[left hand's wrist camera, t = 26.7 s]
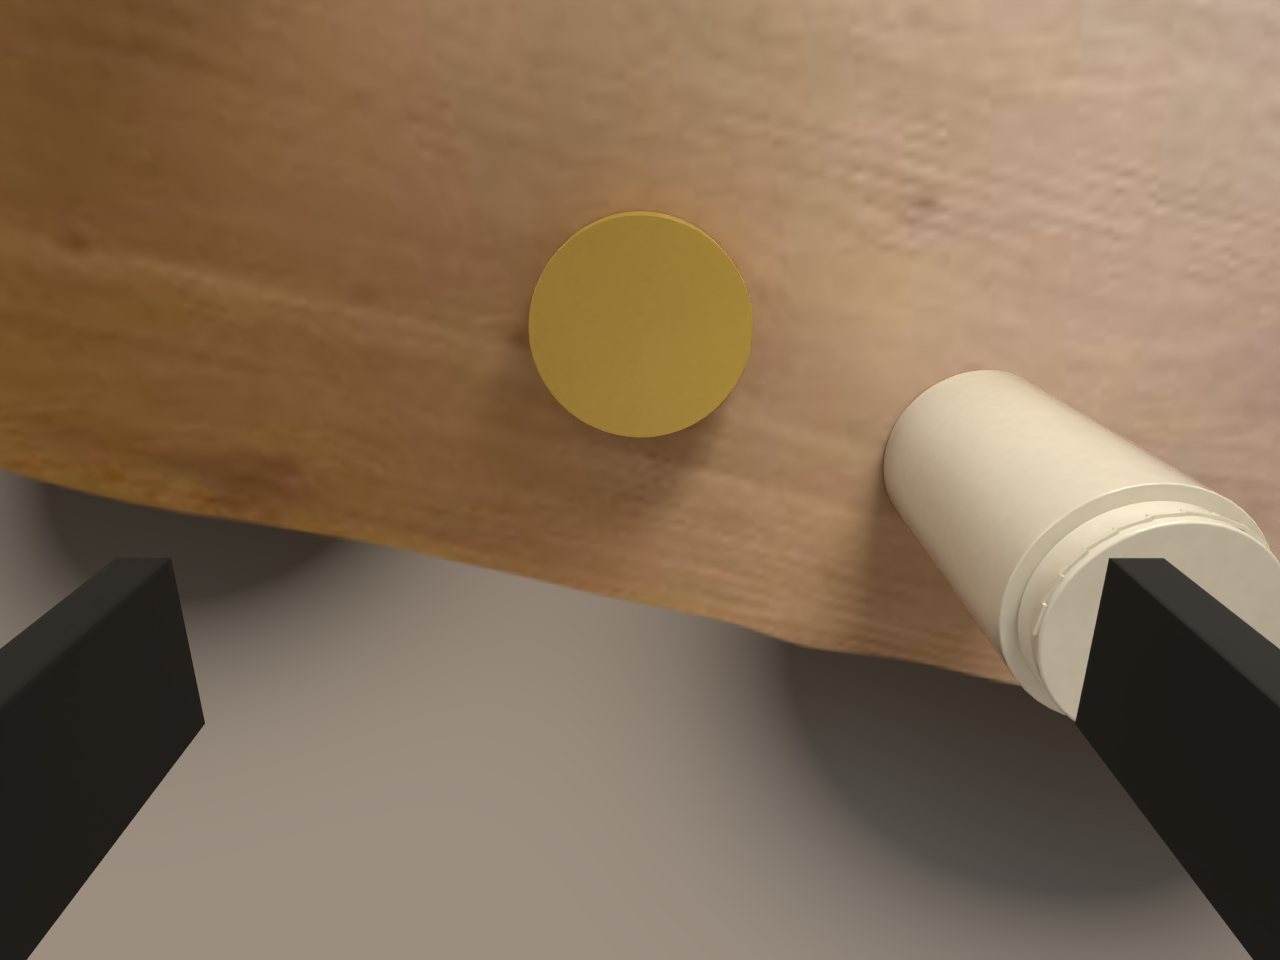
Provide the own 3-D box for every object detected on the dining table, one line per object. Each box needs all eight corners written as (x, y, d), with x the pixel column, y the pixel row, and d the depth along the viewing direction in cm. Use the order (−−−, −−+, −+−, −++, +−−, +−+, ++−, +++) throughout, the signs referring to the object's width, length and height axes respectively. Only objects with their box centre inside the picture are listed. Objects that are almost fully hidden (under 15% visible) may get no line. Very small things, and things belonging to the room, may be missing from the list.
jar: (1091, 382, 38) (1361, 522, 24) (1037, 552, 41) (1250, 768, 27) (906, 358, 38) (1068, 486, 24) (865, 531, 41) (987, 739, 26)
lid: (552, 437, 39) (548, 450, 37) (516, 226, 36) (510, 230, 34) (756, 411, 39) (761, 424, 37) (738, 197, 36) (742, 199, 34)
